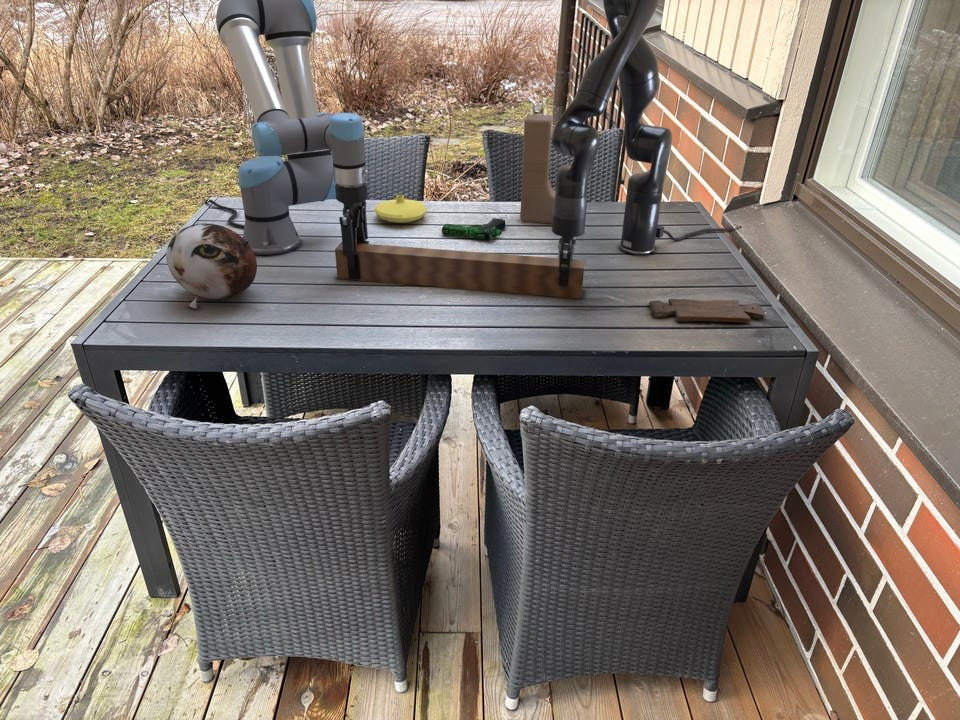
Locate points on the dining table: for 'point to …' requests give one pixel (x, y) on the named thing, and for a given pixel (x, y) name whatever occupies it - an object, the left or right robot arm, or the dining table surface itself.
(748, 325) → the dining table surface
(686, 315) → the dark wooden board
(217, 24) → the left robot arm
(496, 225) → the handgun
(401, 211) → the yellow round flat dome
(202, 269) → the cat face balloon
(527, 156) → the decorative block
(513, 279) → the beam
